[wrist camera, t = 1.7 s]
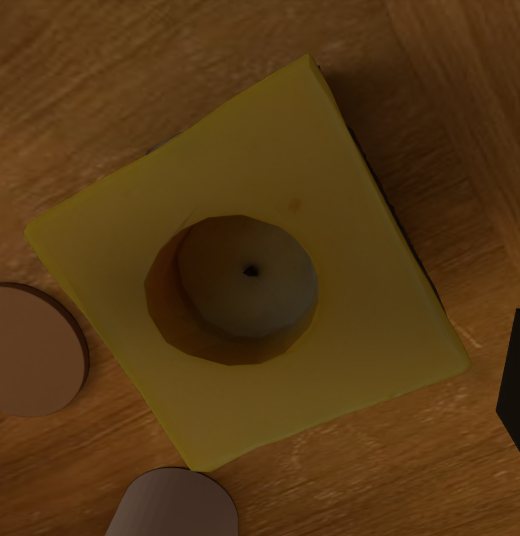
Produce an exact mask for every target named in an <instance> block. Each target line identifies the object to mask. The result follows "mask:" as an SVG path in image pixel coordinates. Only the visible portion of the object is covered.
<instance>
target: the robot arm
mask: <svg viewBox="0 0 520 536" xmlns="http://www.w3.org/2000/svg"><path fill="white" fill-rule="evenodd" d="M496 413H497V414H498V416H499V418H500V419H501V421H502V423H503V424H504V426H505V428H506V429H507V431H508V433H509V435H510V436H511V438H512V440H513V441H514V443H515V445H516V446H517V448H518V450H519V451H520V309H517V308H516V312H515V317H514V322H513V327H512V332H511V337H510V342H509V347H508V352H507V357H506V362H505V367H504V372H503V377H502V382H501V387H500V392H499V397H498V402H497V407H496Z"/></svg>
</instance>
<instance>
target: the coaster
mask: <svg viewBox="0 0 520 536" xmlns="http://www.w3.org/2000/svg"><path fill="white" fill-rule="evenodd" d="M88 367H89V355H88V349H87V345H86V342H85V338H84V336H83V334H82V332H81V330H80V328H79V326H78V325H77V323H76V321H75V320H74V319H73V318H72V316H71V315H70V314H69V313H68V312H67V311H66V310H65V309H64V308H63V307H62V306H61V305H60V304H59V303H58V302H56V301H55V300H54V299H52V298H51V297H49V296H48V295H46V294H44V293H42V292H40V291H38V290H36V289H33V288H30V287H28V286H24V285H20V284H13V283H0V412H3V413H6V414H10V415H14V416H20V417H39V416H45V415H49V414H51V413H54V412H57V411H58V410H60V409H62V408H64V407H65V406H66V405H68V404H69V403H70V402H71V401H72V400H73V399H74V398H75V396H76V395H77V394H78V393H79V391H80V390H81V388H82V387H83V385H84V382H85V380H86V377H87V373H88Z"/></svg>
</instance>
